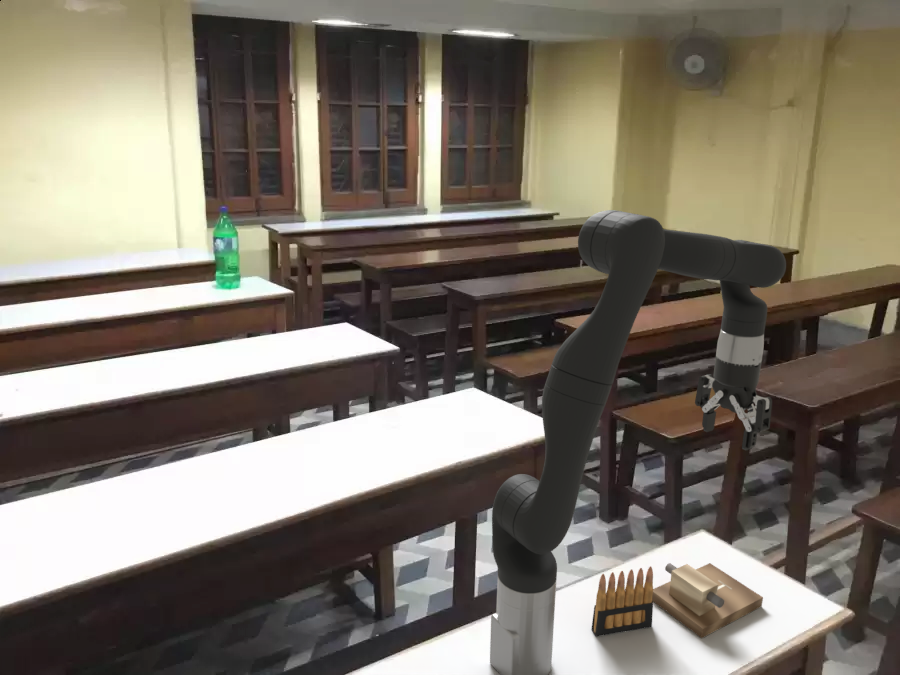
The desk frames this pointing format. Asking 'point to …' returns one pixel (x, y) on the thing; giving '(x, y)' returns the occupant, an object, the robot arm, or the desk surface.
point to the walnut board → (735, 605)
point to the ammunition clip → (623, 604)
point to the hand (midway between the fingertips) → (727, 439)
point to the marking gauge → (693, 589)
